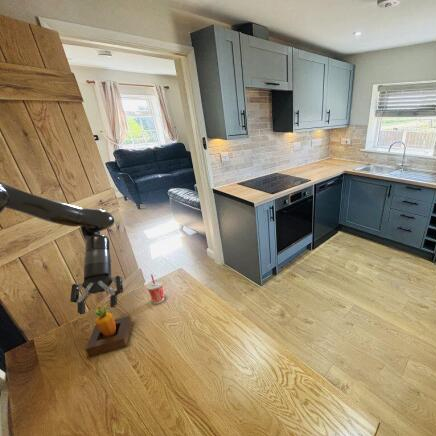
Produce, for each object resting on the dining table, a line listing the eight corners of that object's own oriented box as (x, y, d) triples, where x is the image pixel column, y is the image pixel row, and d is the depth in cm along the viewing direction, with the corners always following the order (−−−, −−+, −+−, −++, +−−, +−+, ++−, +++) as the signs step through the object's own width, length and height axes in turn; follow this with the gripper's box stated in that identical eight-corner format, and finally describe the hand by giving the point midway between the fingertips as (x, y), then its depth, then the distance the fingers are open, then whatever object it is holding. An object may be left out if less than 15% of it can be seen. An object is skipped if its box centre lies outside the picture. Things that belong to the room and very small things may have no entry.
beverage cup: (151, 306, 102) (143, 281, 97) (150, 297, 107) (143, 272, 102) (166, 302, 105) (159, 276, 99) (165, 293, 110) (159, 268, 104)
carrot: (118, 330, 91) (105, 300, 85) (123, 337, 88) (110, 307, 82) (103, 339, 88) (88, 309, 82) (107, 347, 85) (92, 316, 79)
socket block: (89, 357, 81) (85, 349, 80) (99, 331, 91) (95, 324, 89) (126, 346, 85) (123, 338, 84) (132, 323, 94) (129, 315, 93)
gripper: (67, 266, 80) (65, 316, 75) (117, 258, 85) (118, 304, 80) (78, 270, 86) (77, 316, 81) (124, 262, 91) (126, 305, 86)
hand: (97, 310), depth 80 cm, fingers open, 8 cm apart
